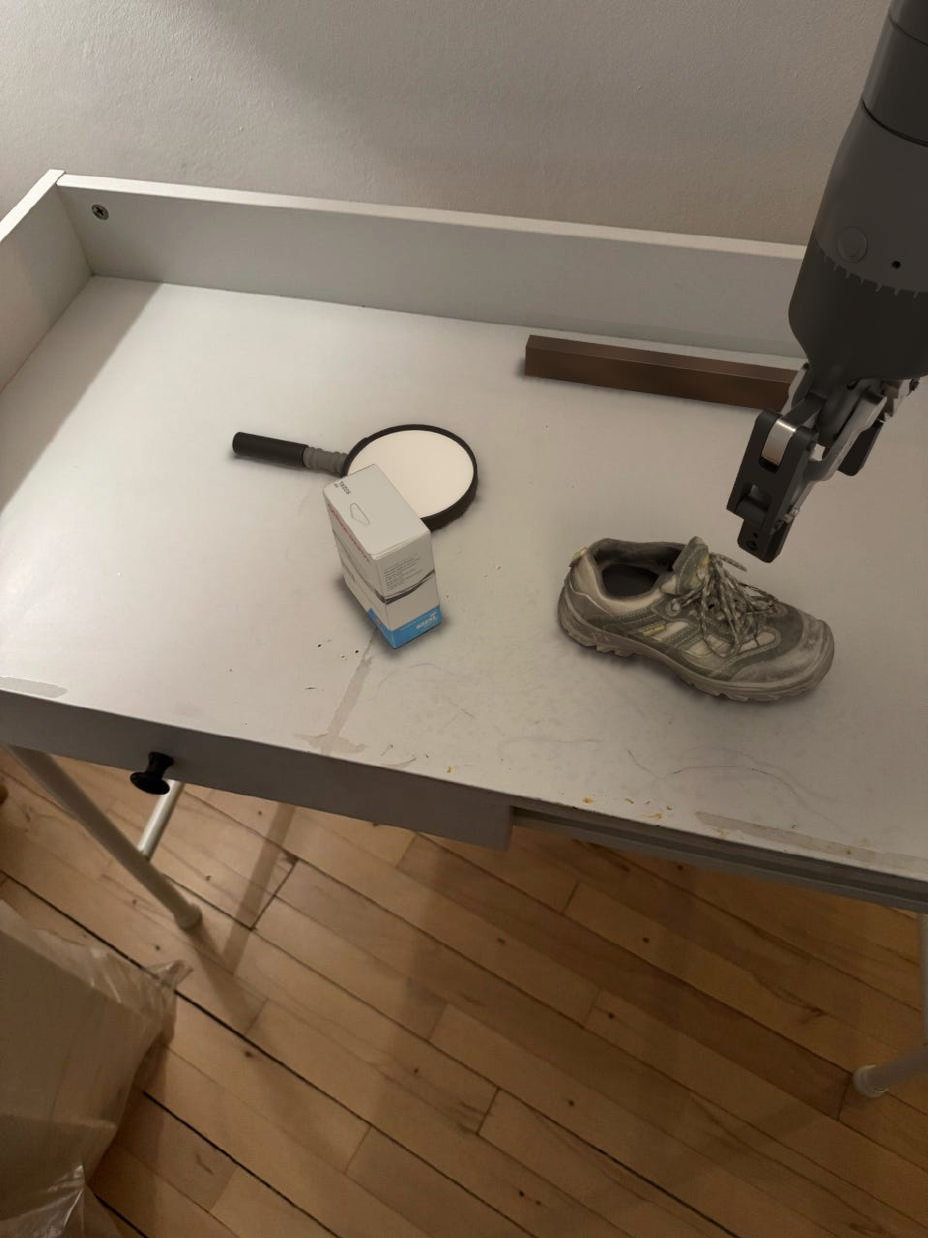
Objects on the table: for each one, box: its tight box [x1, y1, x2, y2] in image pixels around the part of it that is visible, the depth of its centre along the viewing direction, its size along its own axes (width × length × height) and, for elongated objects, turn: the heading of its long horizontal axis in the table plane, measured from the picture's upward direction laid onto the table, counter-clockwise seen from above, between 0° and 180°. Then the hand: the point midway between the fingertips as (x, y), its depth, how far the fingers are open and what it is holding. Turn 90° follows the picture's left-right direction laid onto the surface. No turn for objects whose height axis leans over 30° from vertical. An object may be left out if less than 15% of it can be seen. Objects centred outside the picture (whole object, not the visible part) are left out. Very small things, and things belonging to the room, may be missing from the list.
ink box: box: [320, 464, 442, 649], centre depth 65 cm, size 8×5×12 cm, turn 32°
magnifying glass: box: [231, 423, 479, 531], centre depth 78 cm, size 12×24×2 cm, turn 73°
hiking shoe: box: [557, 535, 835, 702], centre depth 63 cm, size 9×21×12 cm
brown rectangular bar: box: [524, 334, 799, 413], centre depth 82 cm, size 28×2×4 cm, turn 74°
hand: (799, 507), depth 46 cm, fingers open, 8 cm apart
